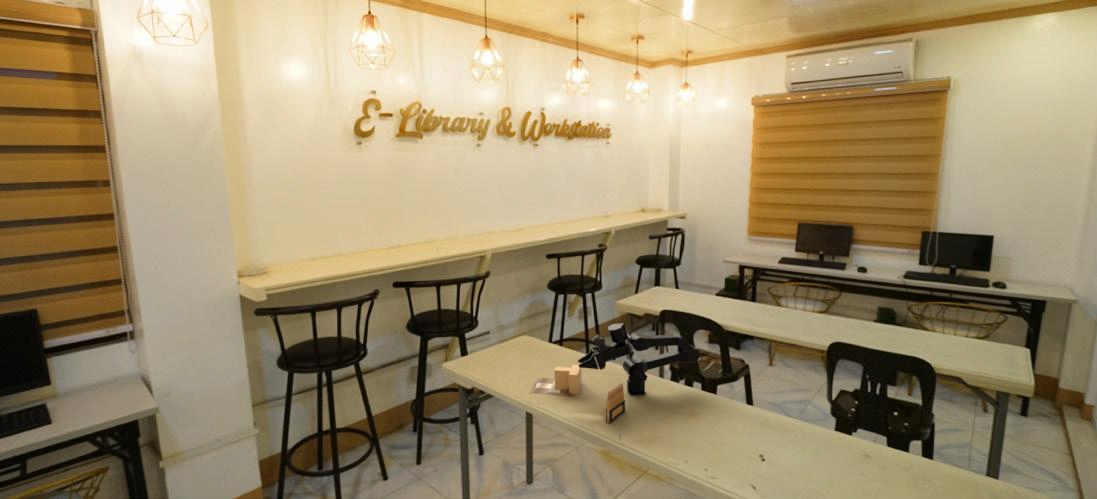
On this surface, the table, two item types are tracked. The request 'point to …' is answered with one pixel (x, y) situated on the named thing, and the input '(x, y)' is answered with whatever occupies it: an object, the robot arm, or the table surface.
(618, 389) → the ammunition clip
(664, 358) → the robot arm
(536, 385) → the board
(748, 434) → the table surface
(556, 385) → the t block
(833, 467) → the table surface
